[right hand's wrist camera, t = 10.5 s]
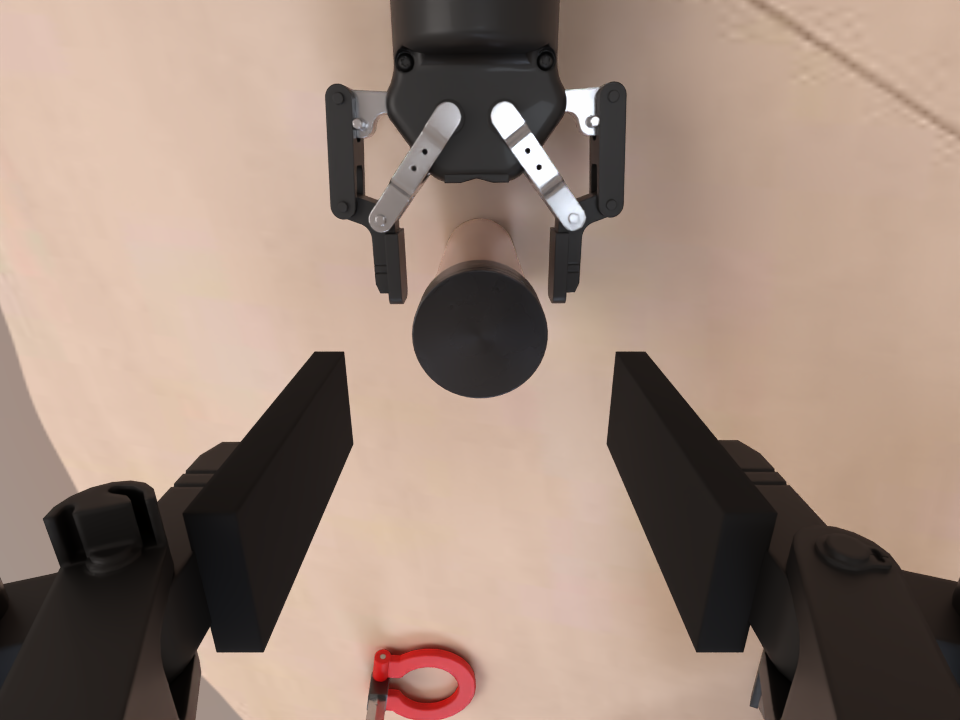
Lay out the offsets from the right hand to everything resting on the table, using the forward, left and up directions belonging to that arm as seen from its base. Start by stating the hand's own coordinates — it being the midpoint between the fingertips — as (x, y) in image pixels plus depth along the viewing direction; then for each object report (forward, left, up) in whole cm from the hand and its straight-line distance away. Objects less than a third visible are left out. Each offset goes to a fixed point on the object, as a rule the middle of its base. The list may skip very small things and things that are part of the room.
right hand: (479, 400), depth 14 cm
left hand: (-1, 0, -15) cm, 15 cm away
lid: (0, 0, -5) cm, 5 cm away
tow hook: (-38, -7, -22) cm, 44 cm away
